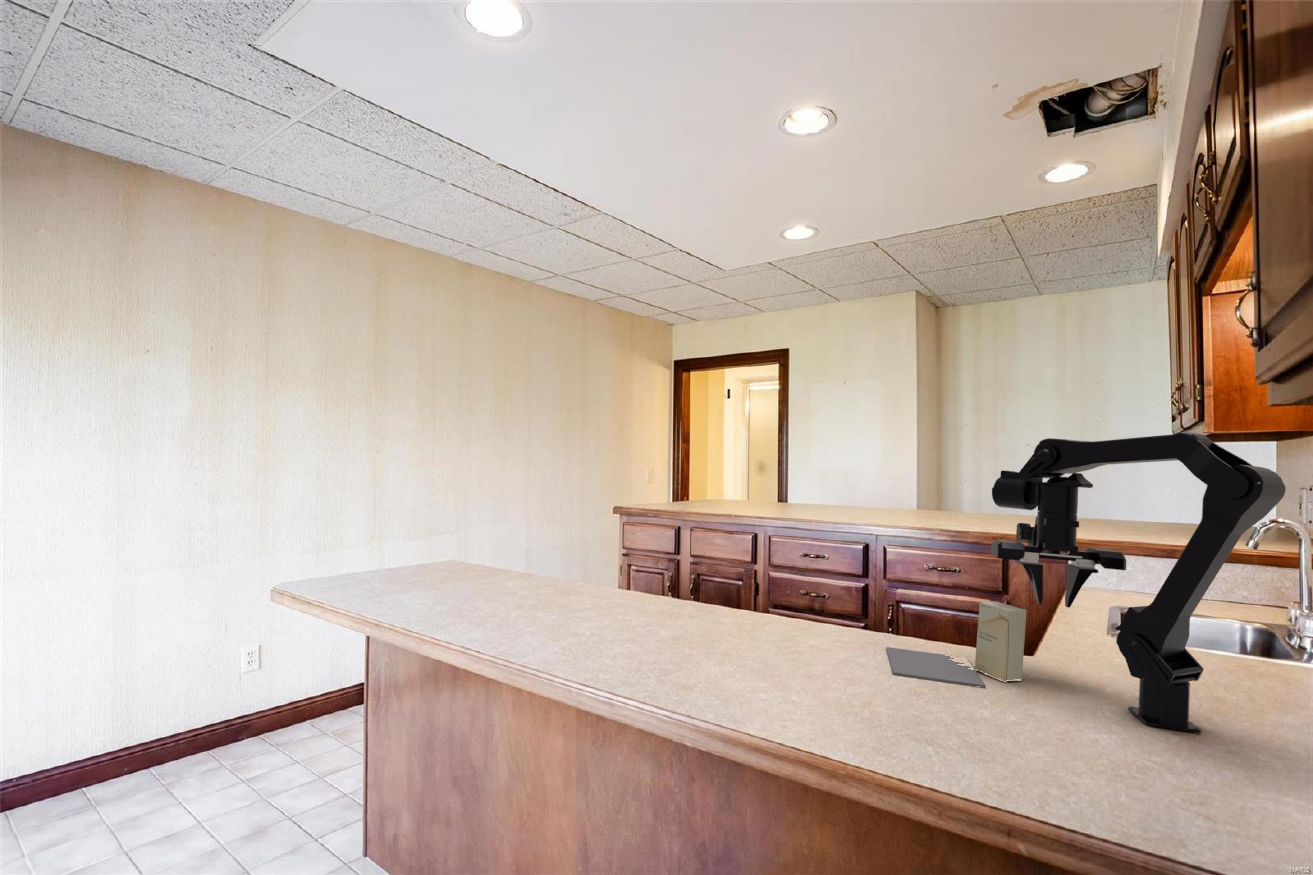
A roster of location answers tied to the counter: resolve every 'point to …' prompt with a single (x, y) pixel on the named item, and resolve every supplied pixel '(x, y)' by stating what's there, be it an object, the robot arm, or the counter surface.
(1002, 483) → the robot arm
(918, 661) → the mat
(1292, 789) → the counter surface
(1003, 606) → the skincare box
